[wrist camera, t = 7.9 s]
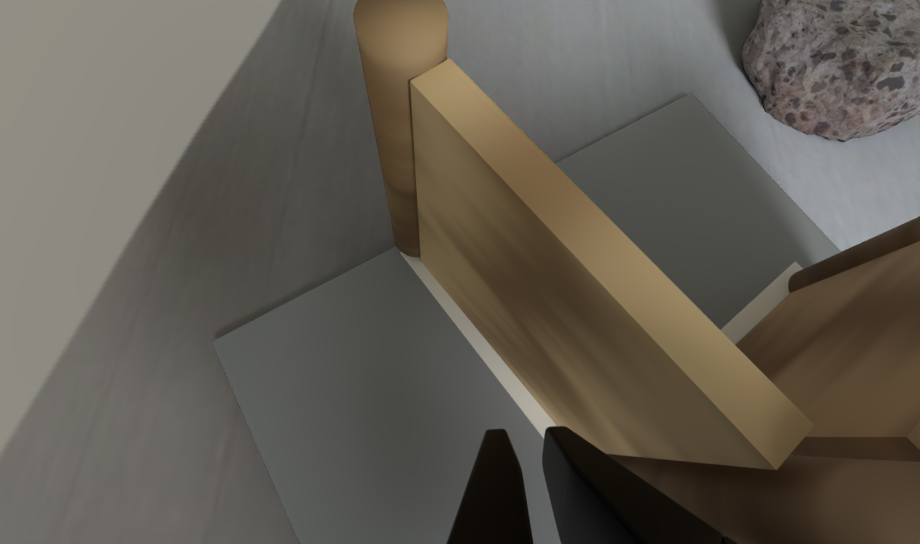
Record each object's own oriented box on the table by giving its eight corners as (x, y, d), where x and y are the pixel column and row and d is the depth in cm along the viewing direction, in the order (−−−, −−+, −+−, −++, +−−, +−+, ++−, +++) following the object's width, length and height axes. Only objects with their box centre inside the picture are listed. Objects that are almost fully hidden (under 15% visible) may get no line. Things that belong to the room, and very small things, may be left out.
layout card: (951, 378, 18) (961, 377, 17) (432, 839, 12) (432, 851, 12) (687, 97, 22) (691, 91, 22) (215, 343, 16) (210, 341, 16)
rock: (734, -6, 25) (789, -85, 21) (925, 46, 25) (1016, -25, 21) (719, 113, 22) (779, 46, 18) (937, 176, 22) (1046, 121, 18)
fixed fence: (612, 521, 15) (993, 699, 5) (573, 470, 16) (845, 536, 5) (834, 299, 19) (1334, 130, 8) (796, 264, 19) (1224, 62, 9)
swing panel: (605, 424, 16) (863, 405, 6) (569, 458, 15) (792, 494, 6) (421, 209, 18) (410, -31, 9) (385, 233, 18) (334, 6, 8)
